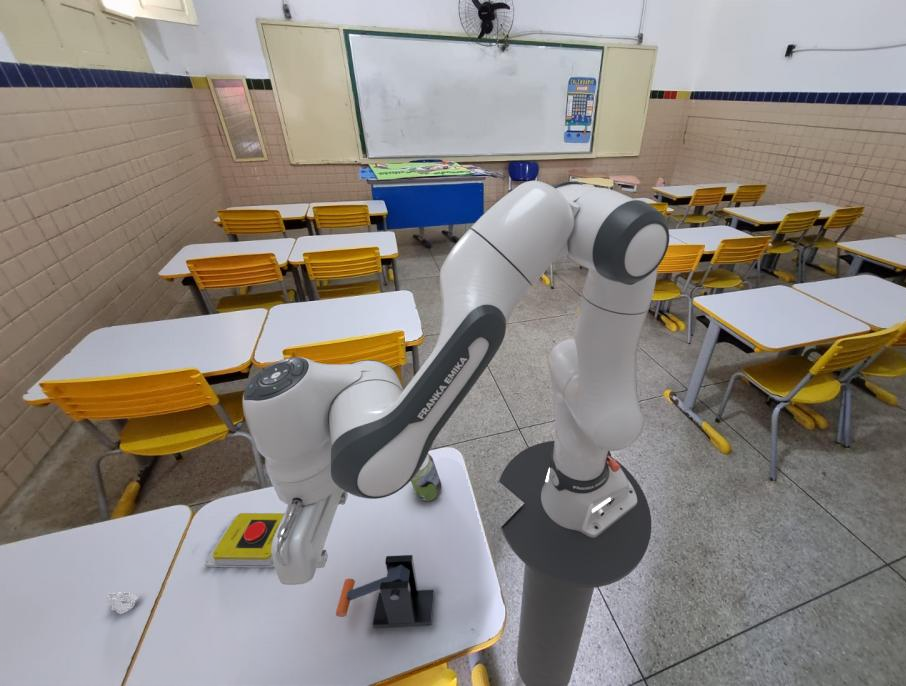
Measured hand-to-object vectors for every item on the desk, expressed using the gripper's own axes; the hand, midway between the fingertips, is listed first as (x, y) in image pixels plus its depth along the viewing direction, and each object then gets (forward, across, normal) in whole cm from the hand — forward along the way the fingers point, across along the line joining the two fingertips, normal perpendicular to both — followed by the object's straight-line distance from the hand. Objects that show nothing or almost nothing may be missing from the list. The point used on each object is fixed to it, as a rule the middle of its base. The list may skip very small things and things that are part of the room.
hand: (331, 529), depth 57 cm
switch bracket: (+23, -1, -8) cm, 25 cm away
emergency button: (+23, +12, +24) cm, 35 cm away
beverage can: (+23, +22, -10) cm, 34 cm away
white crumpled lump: (+23, +1, +42) cm, 47 cm away
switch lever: (+16, -1, -5) cm, 16 cm away
